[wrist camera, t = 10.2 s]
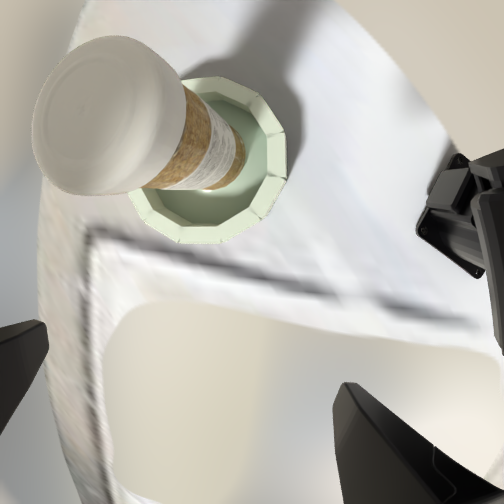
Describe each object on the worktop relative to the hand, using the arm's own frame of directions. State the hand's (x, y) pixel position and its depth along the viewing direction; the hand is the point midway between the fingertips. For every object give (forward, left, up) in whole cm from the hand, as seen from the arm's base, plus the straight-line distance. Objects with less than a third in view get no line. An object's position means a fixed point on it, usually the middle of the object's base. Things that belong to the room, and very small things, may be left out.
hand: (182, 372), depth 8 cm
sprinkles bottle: (+6, -5, -13) cm, 15 cm away
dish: (+6, -5, -13) cm, 15 cm away
